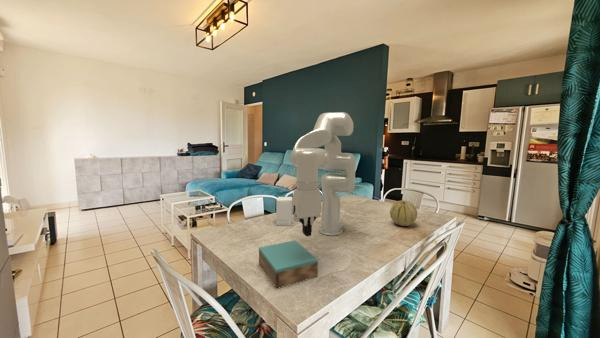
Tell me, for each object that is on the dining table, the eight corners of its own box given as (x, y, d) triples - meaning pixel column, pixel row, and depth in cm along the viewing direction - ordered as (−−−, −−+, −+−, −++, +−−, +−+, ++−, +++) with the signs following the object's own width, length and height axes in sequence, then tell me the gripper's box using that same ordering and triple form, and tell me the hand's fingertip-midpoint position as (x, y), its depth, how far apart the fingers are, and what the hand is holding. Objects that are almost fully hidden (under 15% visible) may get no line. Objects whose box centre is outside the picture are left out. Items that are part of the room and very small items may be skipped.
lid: (295, 242, 104) (295, 240, 104) (317, 262, 88) (317, 259, 88) (258, 249, 97) (258, 247, 97) (276, 272, 80) (276, 269, 80)
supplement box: (291, 225, 140) (291, 200, 138) (276, 225, 140) (276, 200, 138) (292, 220, 149) (292, 196, 147) (277, 220, 149) (277, 196, 147)
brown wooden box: (295, 254, 105) (295, 242, 104) (317, 276, 88) (317, 262, 88) (259, 263, 97) (258, 250, 97) (276, 288, 81) (276, 273, 80)
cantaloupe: (411, 221, 149) (412, 197, 148) (420, 230, 135) (422, 203, 133) (386, 220, 151) (387, 196, 149) (393, 229, 136) (394, 202, 135)
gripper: (319, 181, 93) (319, 227, 95) (283, 185, 86) (284, 234, 89) (330, 185, 86) (329, 234, 89) (292, 190, 79) (292, 243, 82)
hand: (307, 234), depth 89 cm, fingers closed
